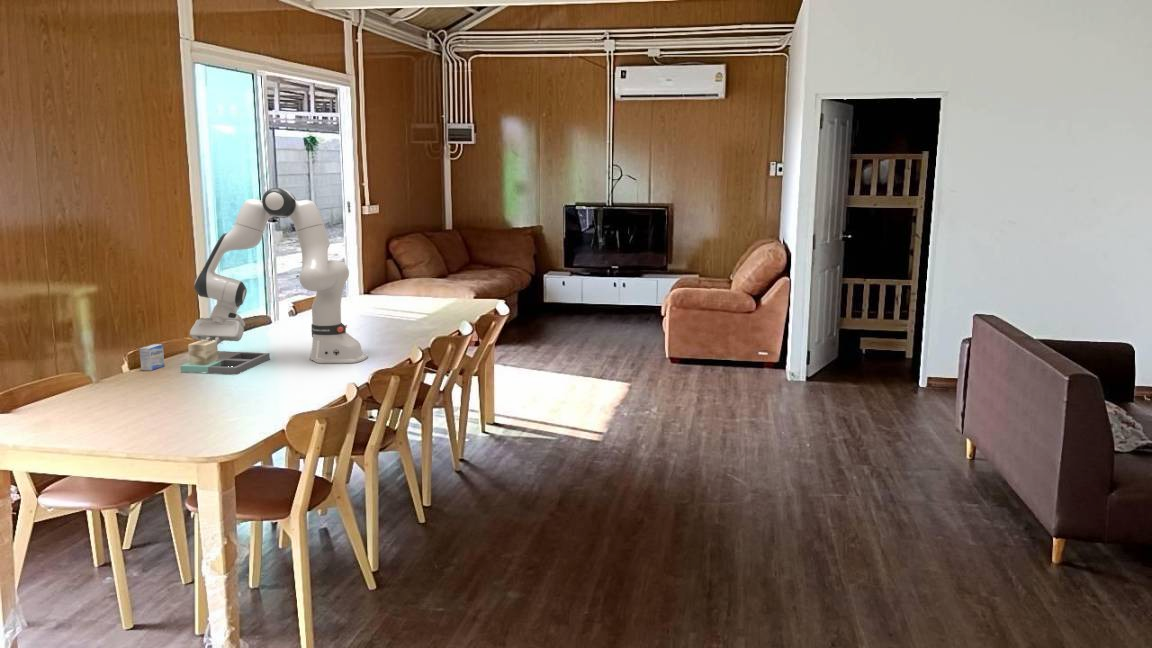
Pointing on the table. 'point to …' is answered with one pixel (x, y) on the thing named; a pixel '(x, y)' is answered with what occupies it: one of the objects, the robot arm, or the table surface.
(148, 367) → the medicine box
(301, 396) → the table surface
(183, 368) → the tray
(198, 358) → the birch block
